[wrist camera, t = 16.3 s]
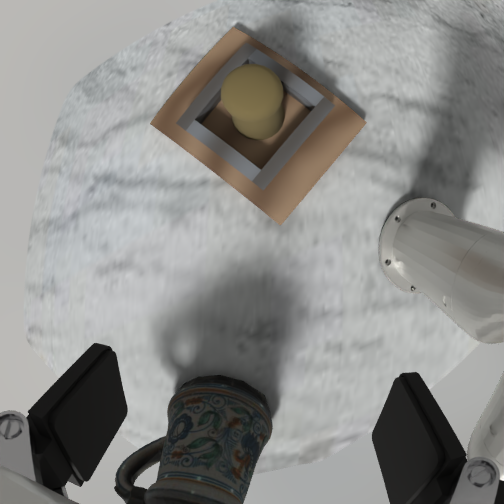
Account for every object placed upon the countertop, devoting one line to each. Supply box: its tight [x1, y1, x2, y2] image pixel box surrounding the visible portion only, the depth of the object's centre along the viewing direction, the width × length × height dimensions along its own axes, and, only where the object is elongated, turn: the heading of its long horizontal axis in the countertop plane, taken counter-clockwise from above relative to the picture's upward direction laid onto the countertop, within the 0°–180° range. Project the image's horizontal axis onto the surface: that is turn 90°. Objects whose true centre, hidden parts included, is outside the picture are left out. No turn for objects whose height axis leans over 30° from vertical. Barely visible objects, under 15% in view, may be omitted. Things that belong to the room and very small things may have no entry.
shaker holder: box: [150, 27, 367, 225], centre depth 31 cm, size 20×16×4 cm
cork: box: [221, 64, 285, 140], centre depth 26 cm, size 6×6×11 cm
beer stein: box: [114, 375, 273, 504], centre depth 32 cm, size 16×19×25 cm
